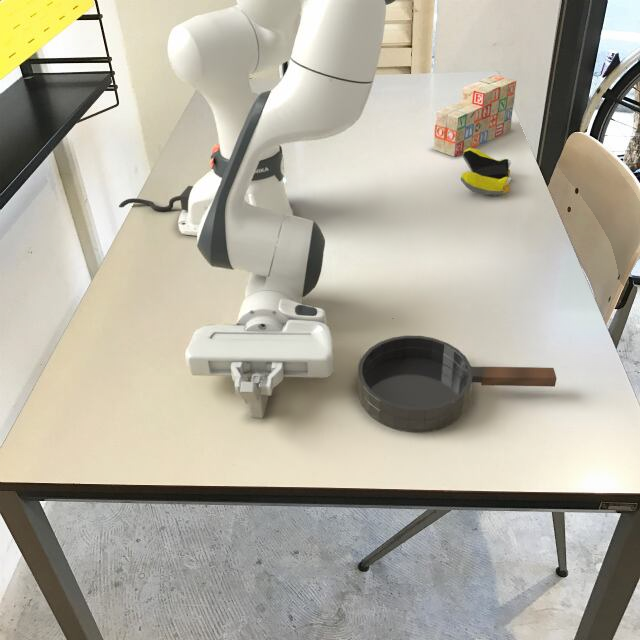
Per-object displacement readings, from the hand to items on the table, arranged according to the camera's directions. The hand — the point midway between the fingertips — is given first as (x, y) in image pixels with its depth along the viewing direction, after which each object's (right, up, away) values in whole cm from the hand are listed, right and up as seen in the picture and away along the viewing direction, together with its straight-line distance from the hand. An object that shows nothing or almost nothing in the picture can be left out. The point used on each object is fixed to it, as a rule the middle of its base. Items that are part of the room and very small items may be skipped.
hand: (253, 391), depth 90 cm
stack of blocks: (+45, +52, +75) cm, 101 cm away
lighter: (0, -4, +4) cm, 5 cm away
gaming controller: (+43, +37, +56) cm, 80 cm away
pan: (+22, -1, +6) cm, 22 cm away
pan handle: (+34, +1, +4) cm, 35 cm away
